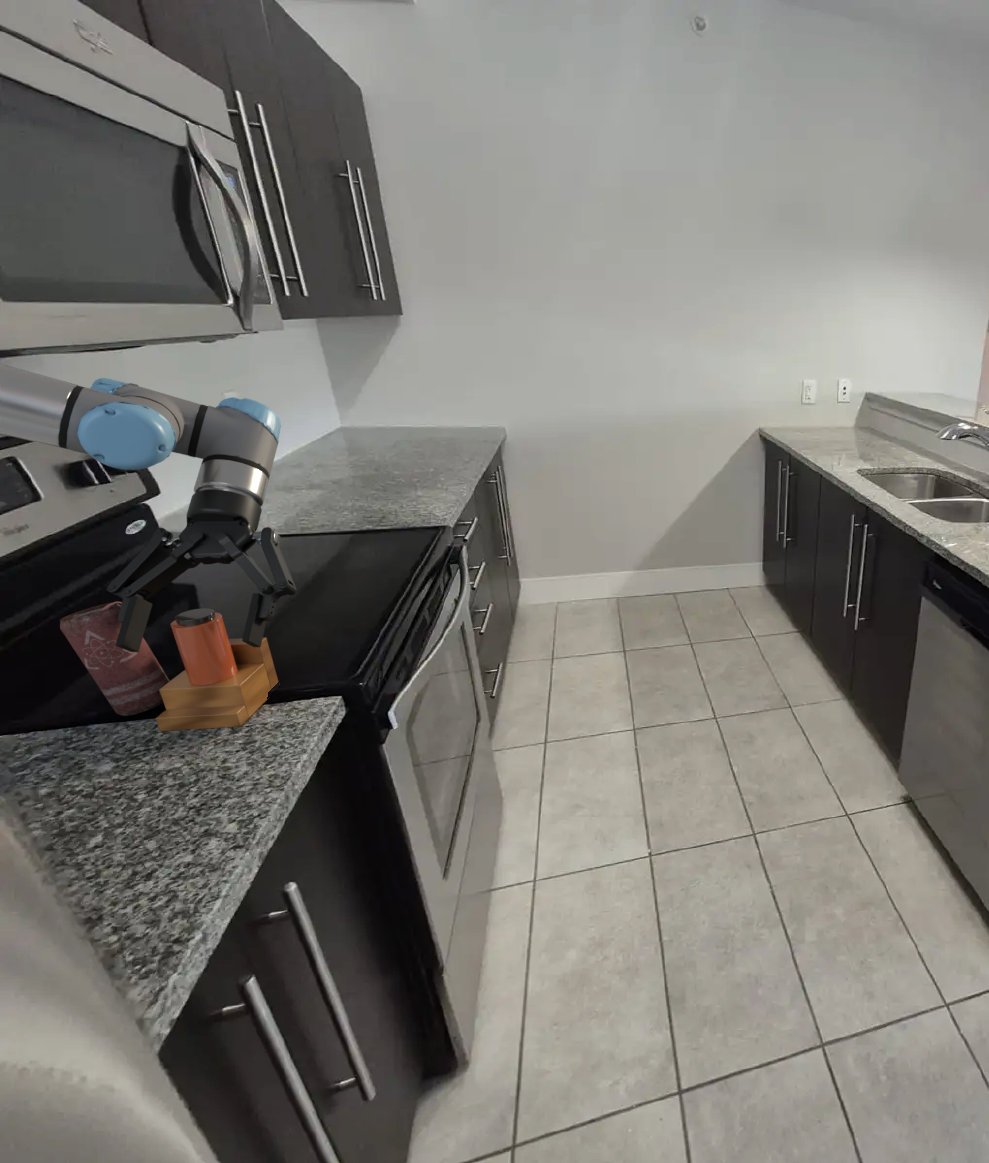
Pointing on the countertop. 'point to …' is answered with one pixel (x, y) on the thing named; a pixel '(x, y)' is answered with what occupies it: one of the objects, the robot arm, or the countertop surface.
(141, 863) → the countertop surface
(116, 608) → the can
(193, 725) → the wooden stair steps
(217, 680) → the spice jar
